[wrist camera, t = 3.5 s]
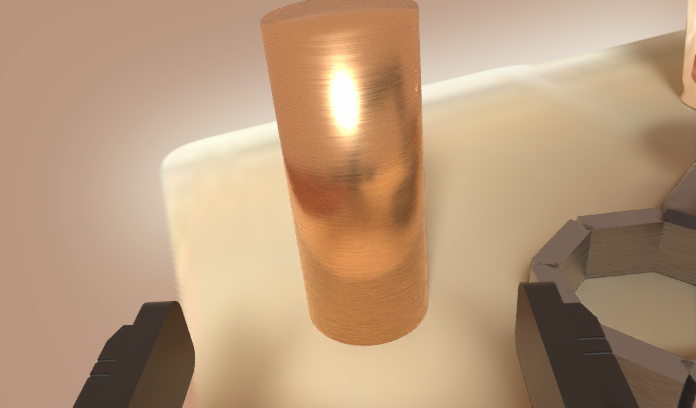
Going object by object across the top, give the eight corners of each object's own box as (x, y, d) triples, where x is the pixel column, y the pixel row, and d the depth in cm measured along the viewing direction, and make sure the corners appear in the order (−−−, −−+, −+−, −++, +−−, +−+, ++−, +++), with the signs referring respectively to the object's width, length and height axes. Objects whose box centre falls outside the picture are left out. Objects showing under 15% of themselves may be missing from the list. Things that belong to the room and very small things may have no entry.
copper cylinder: (361, 252, 28) (334, -11, 22) (451, 293, 25) (450, 0, 19) (284, 311, 25) (227, 25, 19) (376, 365, 22) (344, 45, 16)
